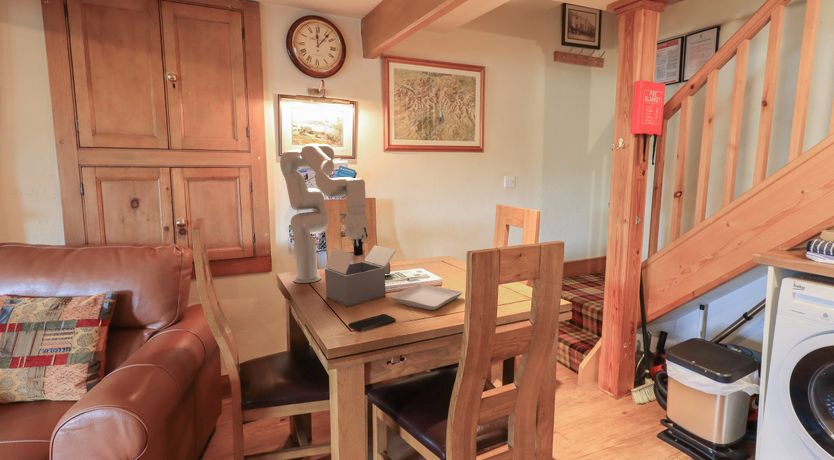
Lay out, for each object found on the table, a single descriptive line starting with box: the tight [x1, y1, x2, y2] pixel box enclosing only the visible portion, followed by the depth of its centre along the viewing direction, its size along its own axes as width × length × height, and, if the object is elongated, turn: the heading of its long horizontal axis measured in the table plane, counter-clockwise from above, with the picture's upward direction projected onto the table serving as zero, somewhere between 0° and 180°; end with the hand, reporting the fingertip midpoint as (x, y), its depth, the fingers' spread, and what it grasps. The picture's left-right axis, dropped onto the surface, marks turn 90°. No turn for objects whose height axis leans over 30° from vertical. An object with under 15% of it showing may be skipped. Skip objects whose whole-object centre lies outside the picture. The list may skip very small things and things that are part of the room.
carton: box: [324, 261, 387, 308], centre depth 178 cm, size 16×18×12 cm
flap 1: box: [324, 248, 355, 274], centre depth 172 cm, size 15×8×1 cm
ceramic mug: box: [372, 261, 391, 274], centre depth 211 cm, size 11×8×8 cm
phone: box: [348, 313, 397, 333], centre depth 149 cm, size 8×1×15 cm
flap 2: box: [363, 244, 397, 267], centre depth 184 cm, size 15×8×1 cm
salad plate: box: [389, 284, 463, 311], centre depth 171 cm, size 21×21×3 cm
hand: (358, 255), depth 177 cm, fingers closed
